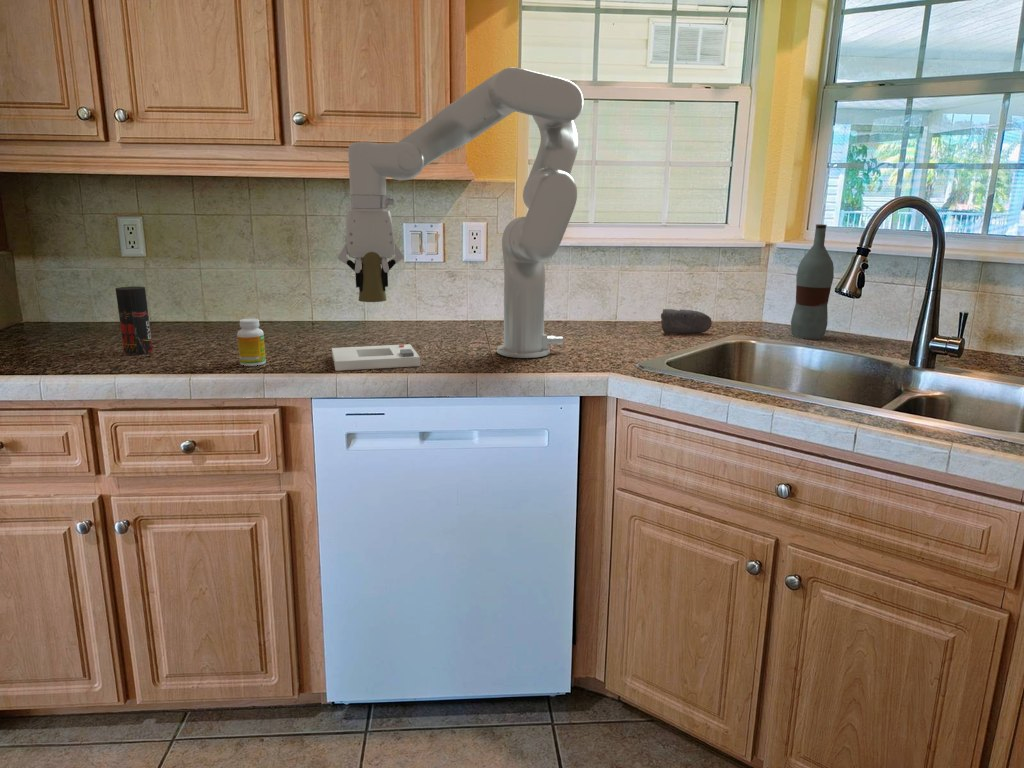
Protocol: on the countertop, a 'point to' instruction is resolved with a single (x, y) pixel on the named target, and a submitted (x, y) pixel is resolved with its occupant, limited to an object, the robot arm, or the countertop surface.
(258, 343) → the supplement bottle
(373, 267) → the cork
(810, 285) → the vodka
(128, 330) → the deodorant
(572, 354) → the countertop surface
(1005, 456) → the countertop surface
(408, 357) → the white flat base
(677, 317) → the perforated stone tool
